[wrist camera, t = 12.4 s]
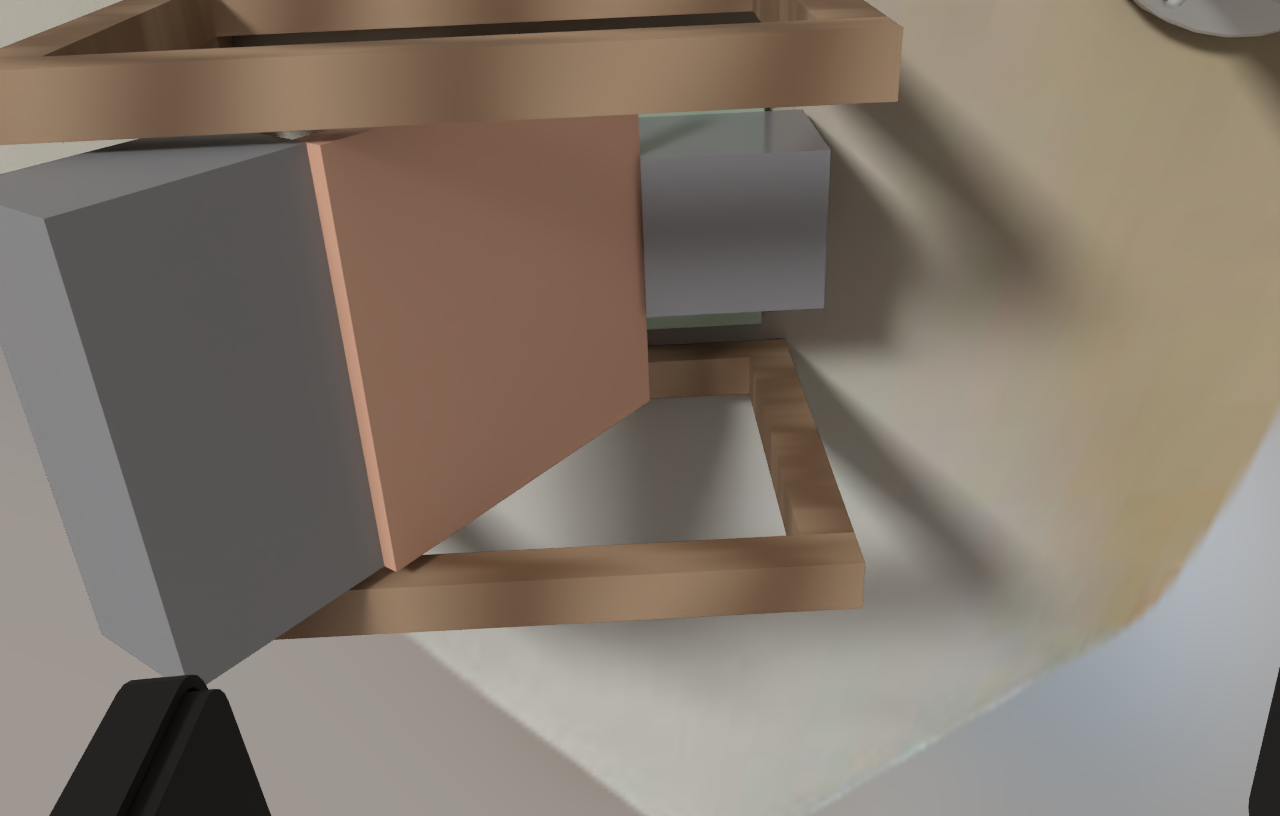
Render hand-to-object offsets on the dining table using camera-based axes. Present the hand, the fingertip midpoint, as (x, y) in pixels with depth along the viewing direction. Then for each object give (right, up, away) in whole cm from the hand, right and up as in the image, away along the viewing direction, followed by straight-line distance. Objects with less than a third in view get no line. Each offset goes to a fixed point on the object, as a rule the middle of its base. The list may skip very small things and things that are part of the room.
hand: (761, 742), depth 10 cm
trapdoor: (-10, +6, +22) cm, 25 cm away
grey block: (-1, +10, +28) cm, 30 cm away
